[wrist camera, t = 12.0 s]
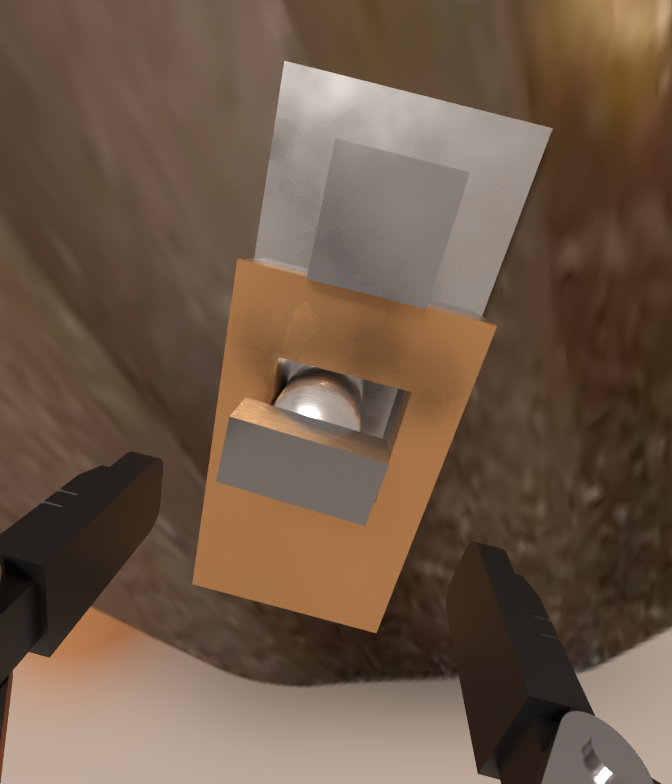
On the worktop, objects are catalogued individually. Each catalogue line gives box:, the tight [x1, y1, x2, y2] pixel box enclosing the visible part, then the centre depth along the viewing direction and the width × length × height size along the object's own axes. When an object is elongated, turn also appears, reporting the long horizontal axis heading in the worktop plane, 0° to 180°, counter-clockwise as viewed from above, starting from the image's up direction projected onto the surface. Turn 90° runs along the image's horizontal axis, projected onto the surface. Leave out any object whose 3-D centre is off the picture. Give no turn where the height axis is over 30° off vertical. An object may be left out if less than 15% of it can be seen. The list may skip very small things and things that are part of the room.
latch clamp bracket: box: [192, 61, 552, 633], centre depth 19 cm, size 24×14×12 cm, turn 166°
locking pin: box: [216, 363, 389, 526], centre depth 18 cm, size 4×5×14 cm
